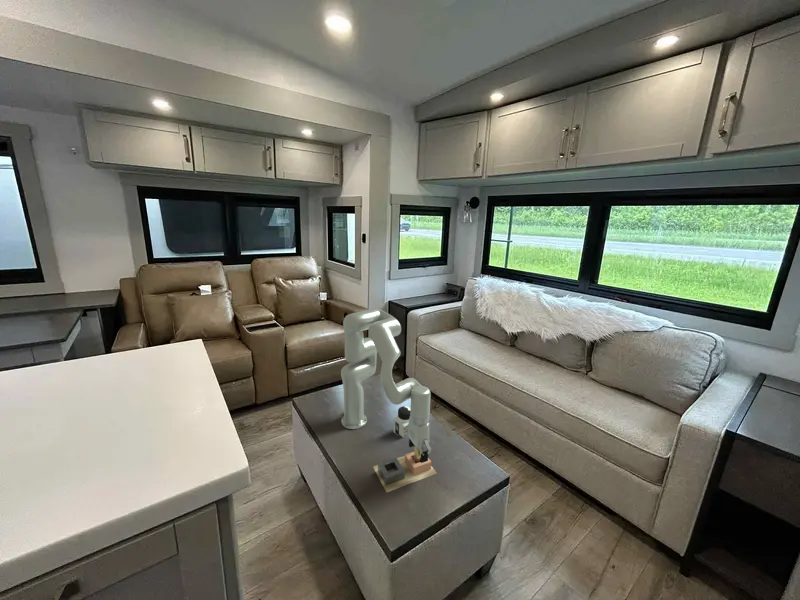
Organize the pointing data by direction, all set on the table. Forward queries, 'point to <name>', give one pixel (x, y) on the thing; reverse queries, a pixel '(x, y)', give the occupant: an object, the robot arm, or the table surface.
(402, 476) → the mount collar
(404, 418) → the container
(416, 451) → the brass pin
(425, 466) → the socket collar
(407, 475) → the oak board
